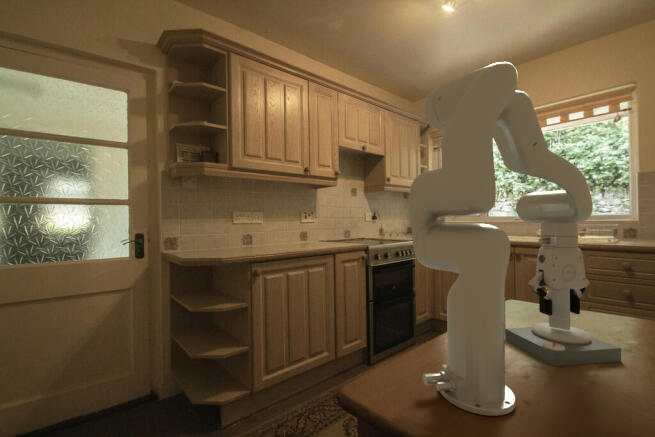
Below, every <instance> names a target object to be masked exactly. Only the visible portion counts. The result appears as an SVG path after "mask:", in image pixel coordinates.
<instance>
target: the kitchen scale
mask: <svg viewBox="0 0 655 437" xmlns="http://www.w3.org/2000/svg"><path fill="white" fill-rule="evenodd" d="M505 341H506V342H508V343H511V344H512V345H514V346H516V347H518V348H519V349H522V351H525V352H526V353H529V354H530V355H532V356H534V357H536V358H538V359H539V360H541V361H543V362H545V363H546V364H548V365H551V366H552V367H554V368H555V367H565V366H566V367H568V366H580V365H592V364H605V363H617V362H618V363H619V362H622V348H621V347H619V346H617V345H614V344H612V343H609V342H606V341H604V340H601V339H598V338H595V337H594V336H592V335H591V334H590V333H589V332H587V331H585V330H583V329H581V328H578V327H574V326H571V325H570V330H565V329H559V328H553V327H550V326H549V322H536V323H533V324H532V325H530V326H527V327H524V326H523V327H510V328H509V327H508V328H505Z"/></svg>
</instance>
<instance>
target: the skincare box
mask: <svg viewBox="0 0 655 437" xmlns="http://www.w3.org/2000/svg"><path fill="white" fill-rule="evenodd" d="M549 299H551V300H552V315H551V316H549V315H548V323H549V326H550V327H553V328H559V329H565V330H570V326H571V312H570V289H569V280H565V281H564V289H562V290H553V292H552V294H551V296H550V298H549Z"/></svg>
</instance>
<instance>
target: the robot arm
mask: <svg viewBox="0 0 655 437" xmlns="http://www.w3.org/2000/svg"><path fill="white" fill-rule="evenodd" d="M518 85H519V75H518V70H517V68H516V67H515V66H514V64H512V63H510V62H508V61H503V62H502V61H501V62H499V61H498V62H494V63H492V64H489V65H486V66H483V67H481V68H478V69H477V70H474V71H472V72H469V73H467V74H465V75H462V76H461V77H459V78H456V79H454V80H452V81H449V82H447V83H444V84H443V85H440V86H437V87H436V88H435V89H433V90H431V91H430V92H429V93H428V95H427V96H426V97H425V100H424V103H423V112H424V116H425V118H426V121H427V122H428V124H430V126H432V127H433V128H434V129H436V130H438V131H440V132H441V133H442V135H441V139H440V149H441V152H440V154H441V167H440V168H437V169H431V170H426V171H424V172H421V173H419V175H417V176H416V177H415V178H414V179H413V181H412V182H411V185H410V188H409V194H408V207H409V210H408V211H409V218H410V220H409V221H410V229H411V238H412V239H411V240H412V246H413V251H414V252H413V253H414V254H415V255H414V256H415V257H416V259H417V261H418V262H419V264H421V266H424V267H426V268H428V269H431V270H432V269H433V270H438V271H444V272H452V273H455V274H458V276H457V278H456V279H455V281H454V282H453V284H452V285H451V287H450V288H449V290H448V293H447V296H446V321H447V322H446V324H447V326H446V327H447V328H446V329H447V331H446V332H447V333H446V334H447V336H446V337H447V342H446V343H447V344H446V345H447V350H446V351H447V364H442V365H441V368H442V370H439V371H438V372H435V373H434V372H429V373H423V374H422V382H423V384H424V385H425V386H434V385H435V389H436V390H437V391H438V392H440V394H441V395H442V396H443V397H444V399H445V400H447V401H448V402H449V403H450V404H452V405H454V406H455V407H458V408H459V409H462V410H464V411H467V412H470V413H473V414H477V415H483V416H492V417H493V416H494V417H495V416H503V415H504V416H505V415H507V414H509V413H511V412H512V411H514V410H515V408H516V404H517V403H516V399H517V398H516V395H515V393H514V392H513V391H512V389H510V387H508V386H507V385H506V340H505V329H506V328H505V324H506V313H505V314H504V297H505V291H506V280H507V278H506V277H507V272H508V267H509V262H510V258H511V257H510V256H511V242H510V239H509V236H508V235H507V234H506V232H505V231H504V230H502V229H501V228H499V227H497V226H495V225H492V224H487V223H478V222H455V223H453V222H450V223H448V222H446V217H447V218H448V217H451V218H452V217H474V216H481V215H485V214H487V213H489V212H490V211H492V209H493V208H494V207H495V204H496V199H497V192H496V191H497V189H496V187H497V186H496V173H495V172H496V171H495V160H494V158H495V157H494V144H493V141H494V142H495V144H496V147H497V149H498V151H499V154H500V156H501V158H502V161H503V164H504V166H505V168H506V169H508V170H509V171H511V172H514V173H517V174H520V175H526V176H529V177H533V178H538V179H542V180H545V181H548V182H550V183H553V184H555V185H557V186H559V187H560V188H561V190H550V191H541V192H539V191H538V192H531V193H526V194H523V195H522V196H520V197H519V198H518V200H517V201H516V206H515V212H516V214H517V216H518V218H520V220H522V221H523V222H525V223H530V224H540V238H539V239H538V241H537V242H538V244H540V247H539V249H538V254H537V257H536V267H535V268H536V270H535V275H534V277H532V278H531V279H530V280H529V281H528V285H529V287H531V289H532V292H534V293H535V295H536V296H537V297H539V298H538V299H539V300H538V301H539V302H538V304H539V305H538V306H539V308H538V309H539V313H540V314H541V313H542V314H544V315H547V316H548V317H549V316H551V315H552V300H551V299H549V298H550V296H551V294H552V292H553V290H562V289H564V281H565V280H569V289H570V313H572V314H575V315H580V314H581V299H582V298H583V294H584V293H585V292H586V288H587V287H588V286H589V284H590V280H588V279H587V277H586V268H585V259H584V256H583V252H582V250H581V248H579V224H580V223H583V222H585V221H587V220H589V218H590V217H591V215H592V214H593V209H594V208H593V207H594V206H593V198H592V195H591V191H590V188H589V185H588V182H587V179H586V177H585V175H584V174H583V172H582V171H581V170H580V169H579V168H578V167H577V166H575V164H573V163H572V162H571V161H569V160H568V159H566V158H564V157H562V156H561V155H559V154H557V153H554V152H553V151H551V150H549V148H548V144H547V142H546V139H545V136H544V133H543V130H542V127H541V125H540V121H539V118H538V115H537V113H536V110H535V107H534V104H533V101H532V99H531V97H530V96H529V94H528V93H526V92H525V91H521V90H518Z"/></svg>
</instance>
